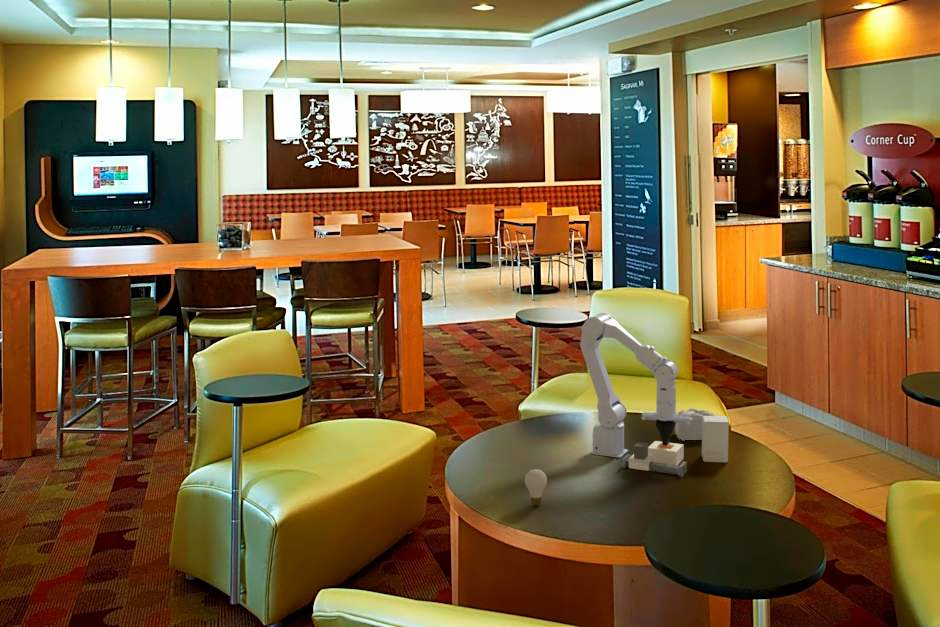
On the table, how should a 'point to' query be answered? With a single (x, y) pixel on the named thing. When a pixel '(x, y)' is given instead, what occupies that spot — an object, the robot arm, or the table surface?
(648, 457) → the carriage
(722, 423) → the supplement box
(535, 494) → the light bulb
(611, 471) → the table surface
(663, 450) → the white hollow block
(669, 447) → the plunger
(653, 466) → the rail
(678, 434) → the lumpy-topped squat cylinder
